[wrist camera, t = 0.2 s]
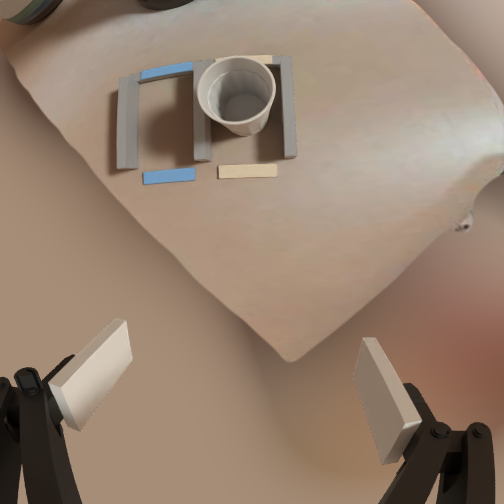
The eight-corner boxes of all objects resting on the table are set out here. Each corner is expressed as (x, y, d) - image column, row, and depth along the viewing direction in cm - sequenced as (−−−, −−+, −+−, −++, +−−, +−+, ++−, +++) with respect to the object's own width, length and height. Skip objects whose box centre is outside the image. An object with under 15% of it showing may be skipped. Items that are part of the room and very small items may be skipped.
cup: (230, 150, 38) (213, 137, 27) (209, 103, 37) (186, 74, 25) (283, 129, 37) (288, 106, 26) (261, 81, 36) (256, 45, 24)
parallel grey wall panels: (131, 77, 36) (120, 69, 33) (289, 58, 35) (290, 47, 31) (130, 185, 41) (117, 186, 37) (295, 176, 39) (297, 175, 35)
